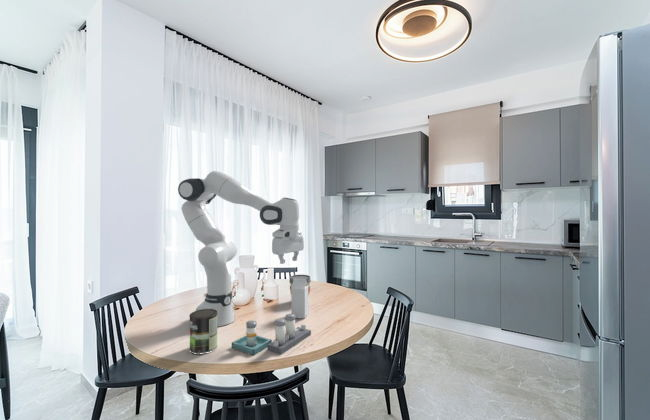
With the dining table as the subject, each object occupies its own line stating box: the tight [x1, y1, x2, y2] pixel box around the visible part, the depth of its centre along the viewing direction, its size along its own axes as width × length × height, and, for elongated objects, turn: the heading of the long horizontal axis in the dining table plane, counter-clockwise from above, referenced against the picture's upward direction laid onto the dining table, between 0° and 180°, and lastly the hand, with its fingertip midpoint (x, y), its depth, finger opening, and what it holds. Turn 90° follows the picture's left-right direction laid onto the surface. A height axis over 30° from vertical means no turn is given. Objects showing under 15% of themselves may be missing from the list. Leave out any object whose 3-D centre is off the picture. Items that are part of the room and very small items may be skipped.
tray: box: [231, 334, 273, 356], centre depth 117 cm, size 12×10×2 cm
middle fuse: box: [285, 313, 296, 339], centre depth 121 cm, size 4×4×9 cm
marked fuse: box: [245, 320, 257, 347], centre depth 117 cm, size 4×4×9 cm
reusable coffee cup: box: [289, 274, 311, 296], centre depth 172 cm, size 13×13×15 cm
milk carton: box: [290, 279, 309, 319], centre depth 150 cm, size 7×7×19 cm
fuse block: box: [267, 323, 312, 355], centre depth 121 cm, size 7×20×4 cm, turn 149°
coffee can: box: [189, 309, 218, 354], centre depth 115 cm, size 10×10×14 cm
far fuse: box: [274, 318, 286, 346], centre depth 115 cm, size 4×4×9 cm
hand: (288, 262), depth 136 cm, fingers open, 8 cm apart
